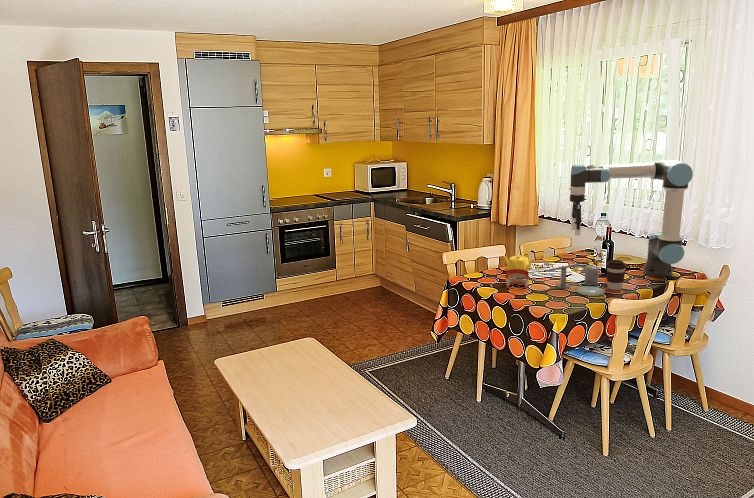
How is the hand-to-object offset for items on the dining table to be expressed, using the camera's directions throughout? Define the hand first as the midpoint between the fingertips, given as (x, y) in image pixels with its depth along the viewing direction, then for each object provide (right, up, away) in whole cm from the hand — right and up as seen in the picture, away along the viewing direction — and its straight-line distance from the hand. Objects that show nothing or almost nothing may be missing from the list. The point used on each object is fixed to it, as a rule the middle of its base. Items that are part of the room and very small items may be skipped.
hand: (575, 232), depth 304 cm
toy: (-31, -29, +4) cm, 43 cm away
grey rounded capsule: (+9, -28, +2) cm, 29 cm away
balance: (-8, -29, -2) cm, 30 cm away
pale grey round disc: (+3, -32, -13) cm, 35 cm away
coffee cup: (+18, -30, -9) cm, 36 cm away
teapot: (-24, -23, +29) cm, 44 cm away
